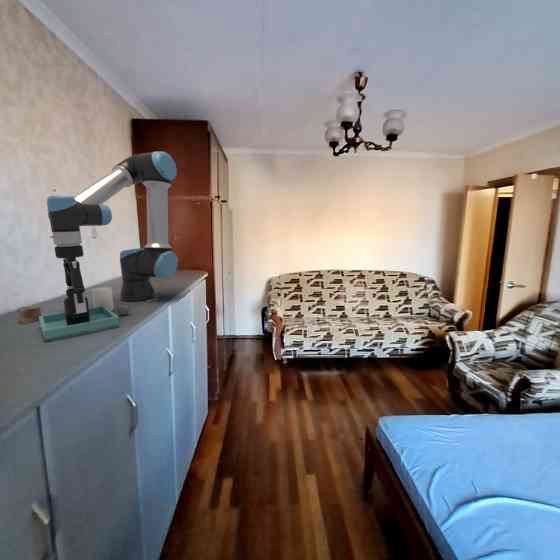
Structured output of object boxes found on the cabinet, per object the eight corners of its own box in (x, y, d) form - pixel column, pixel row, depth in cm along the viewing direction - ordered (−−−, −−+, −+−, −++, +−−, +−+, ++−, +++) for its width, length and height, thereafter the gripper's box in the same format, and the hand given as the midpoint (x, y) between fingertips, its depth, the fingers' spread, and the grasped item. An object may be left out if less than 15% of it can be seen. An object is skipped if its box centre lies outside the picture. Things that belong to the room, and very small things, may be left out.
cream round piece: (111, 307, 128) (109, 286, 126) (116, 310, 123) (113, 288, 121) (92, 310, 123) (89, 288, 122) (96, 313, 118) (93, 291, 116)
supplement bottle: (78, 327, 99) (73, 291, 97) (61, 326, 100) (56, 291, 98) (95, 321, 106) (91, 287, 103) (78, 320, 107) (74, 286, 105)
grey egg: (128, 312, 119) (127, 303, 118) (131, 315, 116) (130, 304, 115) (116, 315, 116) (115, 304, 115) (119, 317, 113) (118, 306, 112)
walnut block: (36, 318, 114) (34, 305, 113) (42, 320, 111) (39, 307, 110) (19, 322, 109) (17, 308, 109) (25, 324, 107) (22, 310, 106)
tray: (105, 314, 117) (104, 305, 116) (119, 326, 102) (118, 316, 102) (40, 326, 104) (38, 316, 103) (45, 342, 89) (43, 331, 89)
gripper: (50, 244, 105) (59, 303, 109) (59, 248, 87) (70, 319, 91) (75, 242, 110) (84, 299, 114) (89, 246, 91) (99, 313, 96)
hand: (78, 308), depth 102 cm, fingers open, 13 cm apart
